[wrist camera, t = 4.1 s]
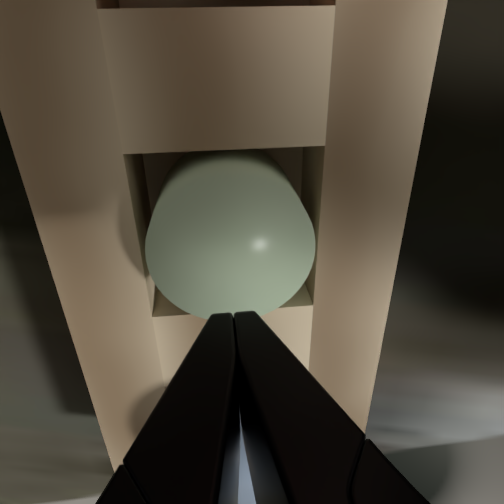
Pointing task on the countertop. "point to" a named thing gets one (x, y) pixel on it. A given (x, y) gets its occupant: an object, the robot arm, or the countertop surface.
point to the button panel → (216, 138)
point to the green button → (228, 234)
